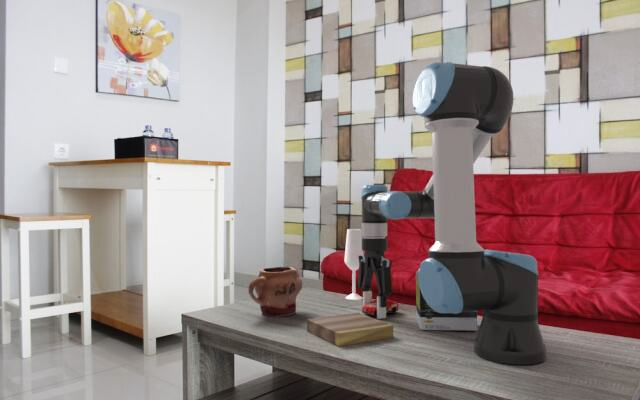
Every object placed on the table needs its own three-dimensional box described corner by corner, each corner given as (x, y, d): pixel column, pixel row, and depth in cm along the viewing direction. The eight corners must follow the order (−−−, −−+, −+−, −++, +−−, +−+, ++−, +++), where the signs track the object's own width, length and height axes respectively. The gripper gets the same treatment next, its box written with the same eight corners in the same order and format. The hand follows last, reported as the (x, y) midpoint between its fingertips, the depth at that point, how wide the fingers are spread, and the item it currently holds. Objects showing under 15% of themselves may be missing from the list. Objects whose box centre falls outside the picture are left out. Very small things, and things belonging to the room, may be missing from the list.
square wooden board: (393, 337, 128) (393, 325, 128) (338, 346, 120) (338, 333, 120) (358, 323, 142) (358, 312, 142) (307, 330, 134) (307, 319, 134)
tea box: (470, 323, 143) (470, 270, 143) (477, 332, 133) (477, 275, 133) (415, 321, 145) (415, 269, 145) (419, 330, 135) (419, 274, 135)
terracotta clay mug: (267, 325, 141) (267, 274, 141) (236, 318, 148) (236, 270, 148) (312, 312, 156) (312, 266, 156) (282, 307, 164) (282, 263, 164)
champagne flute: (354, 301, 173) (354, 230, 173) (340, 298, 178) (340, 229, 178) (367, 298, 177) (367, 229, 177) (353, 295, 182) (353, 228, 182)
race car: (370, 317, 146) (371, 303, 146) (357, 313, 150) (358, 300, 151) (401, 312, 155) (402, 299, 155) (388, 309, 159) (388, 296, 159)
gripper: (405, 239, 144) (405, 321, 144) (366, 234, 161) (366, 307, 161) (383, 240, 140) (383, 324, 140) (346, 235, 157) (345, 310, 158)
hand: (374, 315), depth 151 cm, fingers open, 6 cm apart
